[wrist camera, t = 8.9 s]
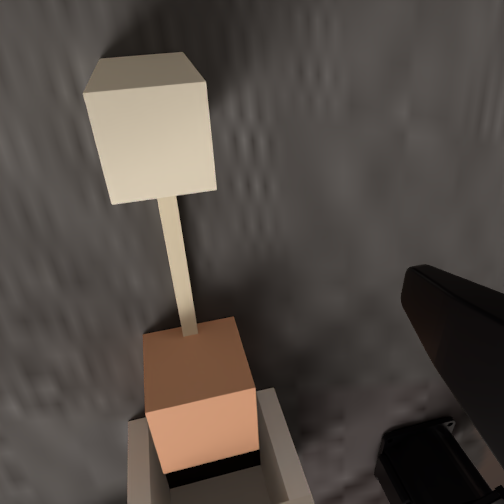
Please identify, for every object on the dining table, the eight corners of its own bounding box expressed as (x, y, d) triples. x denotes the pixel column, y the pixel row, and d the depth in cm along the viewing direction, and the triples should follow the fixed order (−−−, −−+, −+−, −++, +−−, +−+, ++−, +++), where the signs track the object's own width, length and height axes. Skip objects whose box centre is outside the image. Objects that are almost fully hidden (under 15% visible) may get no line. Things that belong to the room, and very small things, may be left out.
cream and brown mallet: (209, 49, 15) (244, 78, 11) (239, 376, 26) (264, 467, 21) (70, 61, 15) (38, 97, 10) (158, 394, 25) (164, 494, 20)
